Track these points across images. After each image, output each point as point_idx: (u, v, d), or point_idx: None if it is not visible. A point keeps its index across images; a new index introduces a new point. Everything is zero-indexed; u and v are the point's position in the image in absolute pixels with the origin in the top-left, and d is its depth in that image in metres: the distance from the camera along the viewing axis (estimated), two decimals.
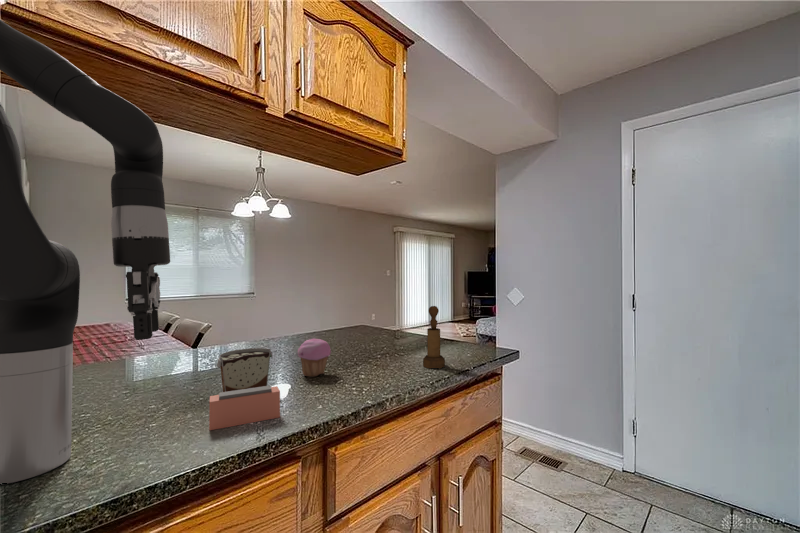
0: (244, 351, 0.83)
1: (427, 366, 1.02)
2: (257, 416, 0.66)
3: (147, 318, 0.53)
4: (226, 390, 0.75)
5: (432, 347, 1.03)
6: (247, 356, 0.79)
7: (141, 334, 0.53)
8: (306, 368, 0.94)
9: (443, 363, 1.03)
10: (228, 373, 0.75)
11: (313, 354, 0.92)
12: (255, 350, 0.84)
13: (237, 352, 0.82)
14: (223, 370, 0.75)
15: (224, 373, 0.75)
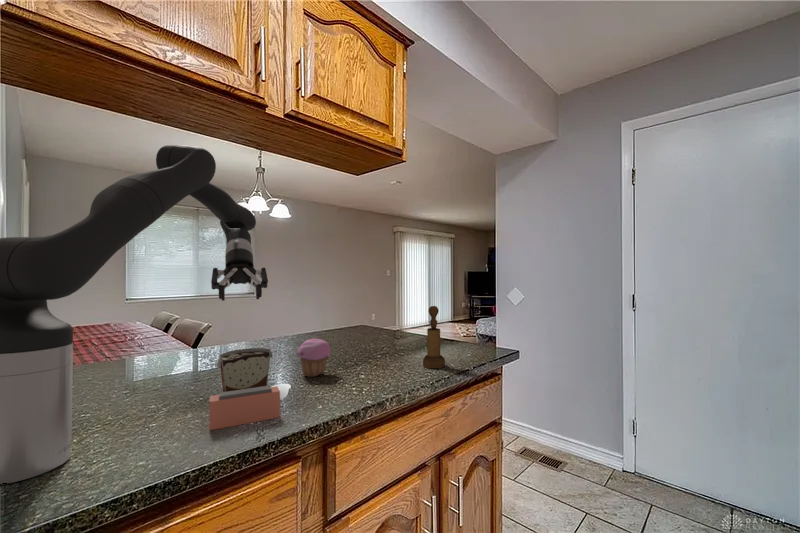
0: (244, 351, 0.83)
1: (427, 366, 1.02)
2: (257, 416, 0.66)
3: None
4: (226, 390, 0.75)
5: (432, 347, 1.03)
6: (247, 356, 0.79)
7: (261, 294, 0.96)
8: (306, 368, 0.94)
9: (443, 363, 1.03)
10: (228, 373, 0.75)
11: (313, 354, 0.92)
12: (255, 350, 0.84)
13: (237, 352, 0.82)
14: (223, 370, 0.75)
15: (224, 373, 0.75)
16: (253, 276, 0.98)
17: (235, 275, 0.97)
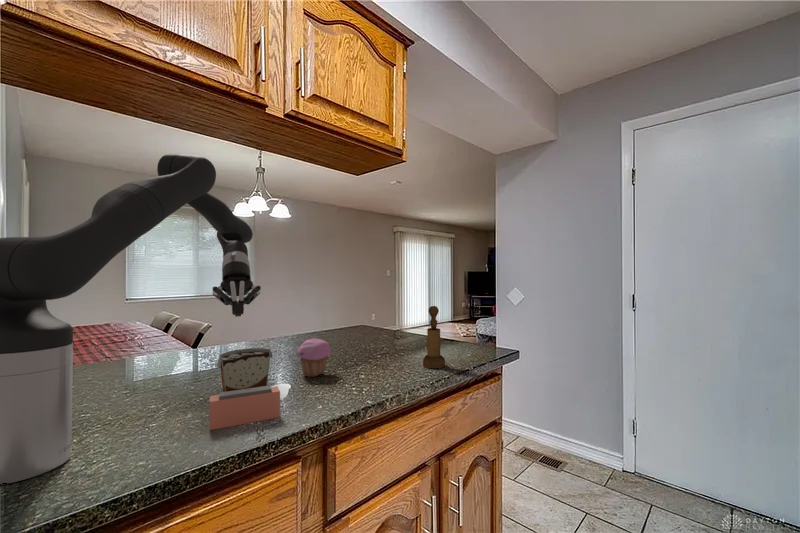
0: (244, 351, 0.83)
1: (427, 366, 1.02)
2: (257, 416, 0.66)
3: None
4: (226, 390, 0.75)
5: (432, 347, 1.03)
6: (247, 356, 0.79)
7: (243, 311, 0.94)
8: (306, 368, 0.94)
9: (443, 363, 1.03)
10: (228, 373, 0.75)
11: (313, 354, 0.92)
12: (255, 350, 0.84)
13: (237, 352, 0.82)
14: (223, 370, 0.75)
15: (224, 373, 0.75)
16: (241, 291, 0.97)
17: (236, 287, 0.98)
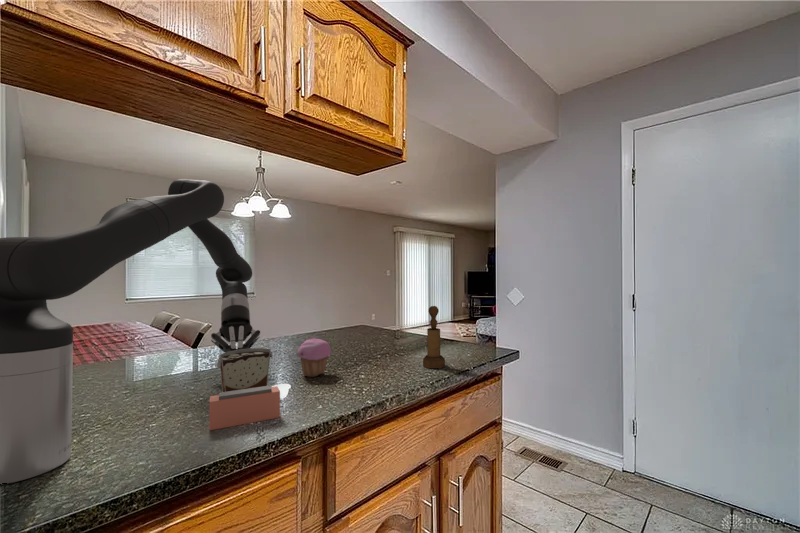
0: (244, 351, 0.83)
1: (427, 366, 1.02)
2: (257, 416, 0.66)
3: None
4: (226, 390, 0.75)
5: (432, 347, 1.03)
6: (247, 356, 0.79)
7: None
8: (306, 368, 0.94)
9: (443, 363, 1.03)
10: (228, 373, 0.75)
11: (313, 354, 0.92)
12: (255, 350, 0.84)
13: (237, 352, 0.82)
14: (223, 371, 0.75)
15: (224, 373, 0.75)
16: (241, 337, 0.95)
17: (235, 333, 0.96)
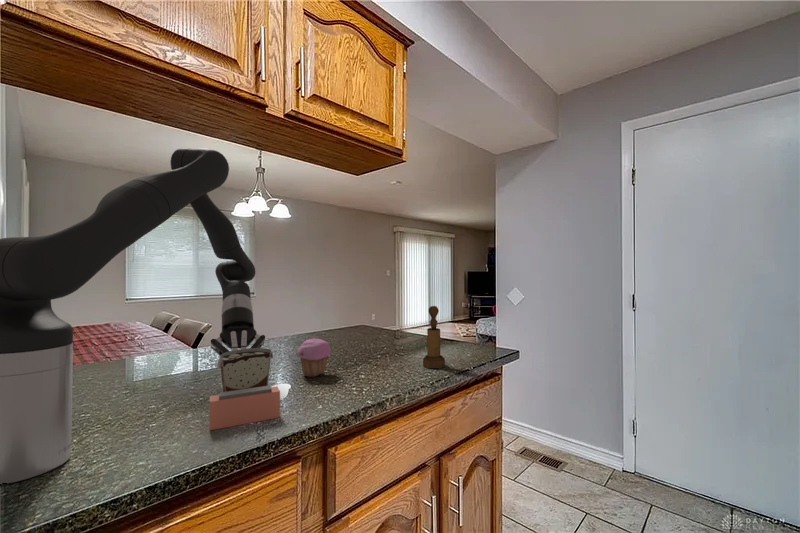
0: (245, 351, 0.83)
1: (427, 366, 1.02)
2: (257, 416, 0.66)
3: None
4: (226, 390, 0.75)
5: (432, 347, 1.03)
6: (248, 356, 0.78)
7: None
8: (306, 368, 0.94)
9: (443, 363, 1.03)
10: (228, 374, 0.75)
11: (313, 354, 0.92)
12: (256, 350, 0.84)
13: (238, 352, 0.82)
14: (223, 371, 0.74)
15: (224, 373, 0.74)
16: (244, 343, 0.85)
17: (238, 338, 0.86)
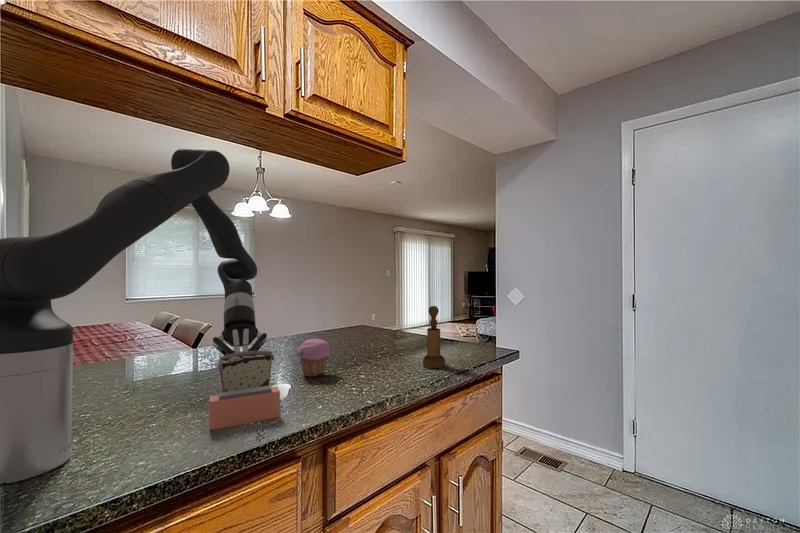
0: (245, 354, 0.81)
1: (427, 366, 1.02)
2: (257, 416, 0.66)
3: None
4: None
5: (432, 347, 1.03)
6: (248, 359, 0.76)
7: None
8: (306, 368, 0.94)
9: (443, 363, 1.03)
10: (228, 377, 0.73)
11: (313, 354, 0.92)
12: (257, 353, 0.81)
13: (238, 355, 0.80)
14: (222, 374, 0.72)
15: (223, 377, 0.72)
16: (245, 342, 0.86)
17: (239, 336, 0.87)
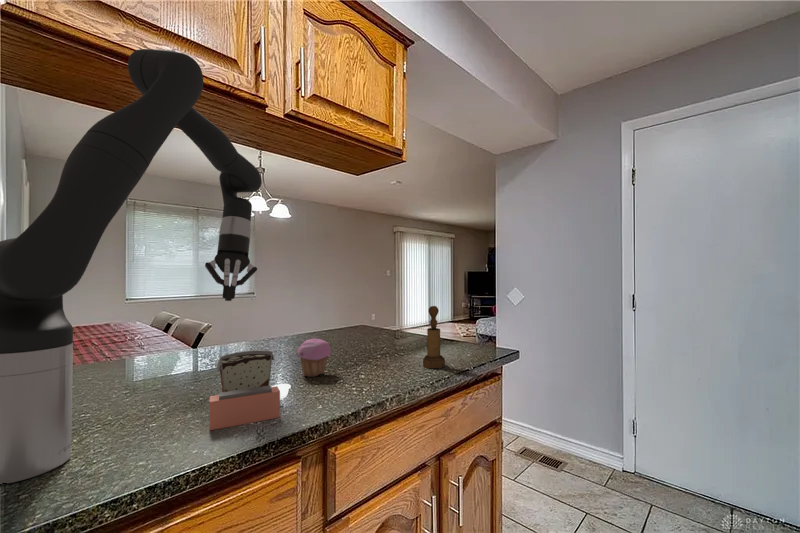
0: (245, 354, 0.81)
1: (427, 366, 1.02)
2: (257, 416, 0.66)
3: None
4: None
5: (432, 347, 1.03)
6: (248, 359, 0.76)
7: None
8: (306, 368, 0.94)
9: (443, 363, 1.03)
10: (228, 377, 0.73)
11: (313, 354, 0.92)
12: (256, 352, 0.81)
13: (238, 355, 0.80)
14: (222, 374, 0.72)
15: (223, 377, 0.72)
16: (236, 274, 0.91)
17: (231, 266, 0.91)
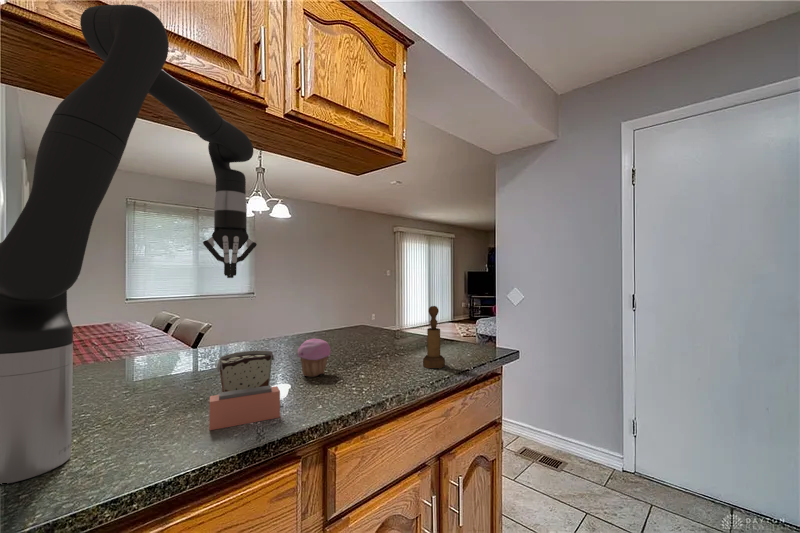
0: (245, 354, 0.81)
1: (427, 366, 1.02)
2: (257, 416, 0.66)
3: None
4: None
5: (432, 347, 1.03)
6: (248, 359, 0.76)
7: (235, 274, 0.90)
8: (306, 368, 0.94)
9: (443, 363, 1.03)
10: (228, 377, 0.73)
11: (313, 354, 0.92)
12: (257, 353, 0.81)
13: (238, 355, 0.80)
14: (222, 374, 0.72)
15: (223, 377, 0.72)
16: (235, 251, 0.89)
17: (229, 242, 0.89)
